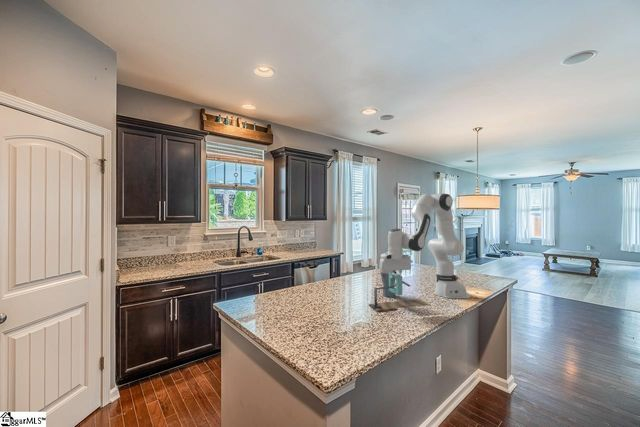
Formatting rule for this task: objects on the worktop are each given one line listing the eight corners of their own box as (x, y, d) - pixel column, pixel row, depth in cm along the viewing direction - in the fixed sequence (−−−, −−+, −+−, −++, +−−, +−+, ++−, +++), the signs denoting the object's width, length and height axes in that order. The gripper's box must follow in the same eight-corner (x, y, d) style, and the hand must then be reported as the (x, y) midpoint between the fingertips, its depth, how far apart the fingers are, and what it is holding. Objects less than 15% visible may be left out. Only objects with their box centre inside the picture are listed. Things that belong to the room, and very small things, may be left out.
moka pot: (376, 297, 190) (376, 268, 190) (389, 293, 201) (389, 265, 201) (388, 300, 183) (388, 270, 183) (401, 295, 194) (401, 267, 194)
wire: (407, 302, 176) (407, 278, 176) (412, 304, 172) (412, 280, 172) (370, 305, 170) (369, 281, 170) (373, 308, 165) (373, 283, 165)
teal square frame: (393, 290, 177) (393, 272, 177) (402, 294, 166) (402, 276, 167) (388, 290, 176) (388, 273, 176) (397, 295, 166) (397, 276, 166)
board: (419, 300, 182) (419, 299, 182) (431, 306, 171) (431, 304, 171) (368, 305, 174) (368, 303, 174) (377, 312, 162) (377, 310, 162)
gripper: (407, 253, 177) (407, 275, 177) (377, 255, 172) (378, 277, 172) (413, 255, 171) (413, 277, 171) (382, 256, 166) (382, 279, 166)
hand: (395, 277), depth 172 cm, fingers closed on teal square frame, 3 cm apart
